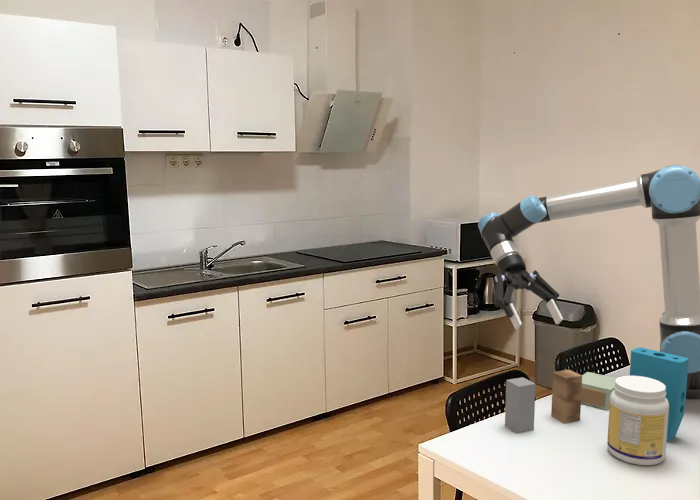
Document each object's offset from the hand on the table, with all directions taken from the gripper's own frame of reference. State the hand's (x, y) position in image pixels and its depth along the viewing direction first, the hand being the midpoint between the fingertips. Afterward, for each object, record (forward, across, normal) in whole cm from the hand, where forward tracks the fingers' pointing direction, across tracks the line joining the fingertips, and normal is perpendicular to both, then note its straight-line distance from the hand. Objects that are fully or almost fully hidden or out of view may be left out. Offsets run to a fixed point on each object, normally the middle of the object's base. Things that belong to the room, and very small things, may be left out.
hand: (539, 324), depth 169 cm
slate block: (+24, +14, -8) cm, 29 cm away
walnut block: (+24, -1, -8) cm, 25 cm away
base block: (+20, -17, -12) cm, 29 cm away
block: (+35, -14, +3) cm, 38 cm away
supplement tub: (+39, -2, +8) cm, 40 cm away
